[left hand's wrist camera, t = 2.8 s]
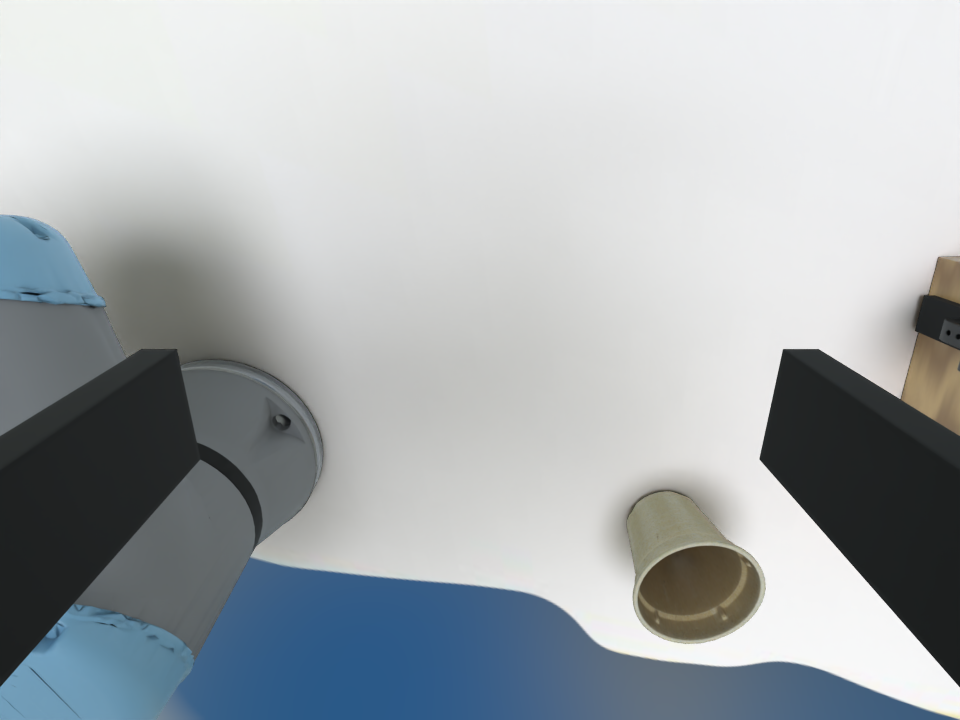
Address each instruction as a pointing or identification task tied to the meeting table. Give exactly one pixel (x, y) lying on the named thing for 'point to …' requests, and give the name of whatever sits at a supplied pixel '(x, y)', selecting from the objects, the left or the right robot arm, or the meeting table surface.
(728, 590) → the flower pot
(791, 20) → the meeting table surface
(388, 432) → the meeting table surface
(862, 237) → the meeting table surface
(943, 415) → the bar
